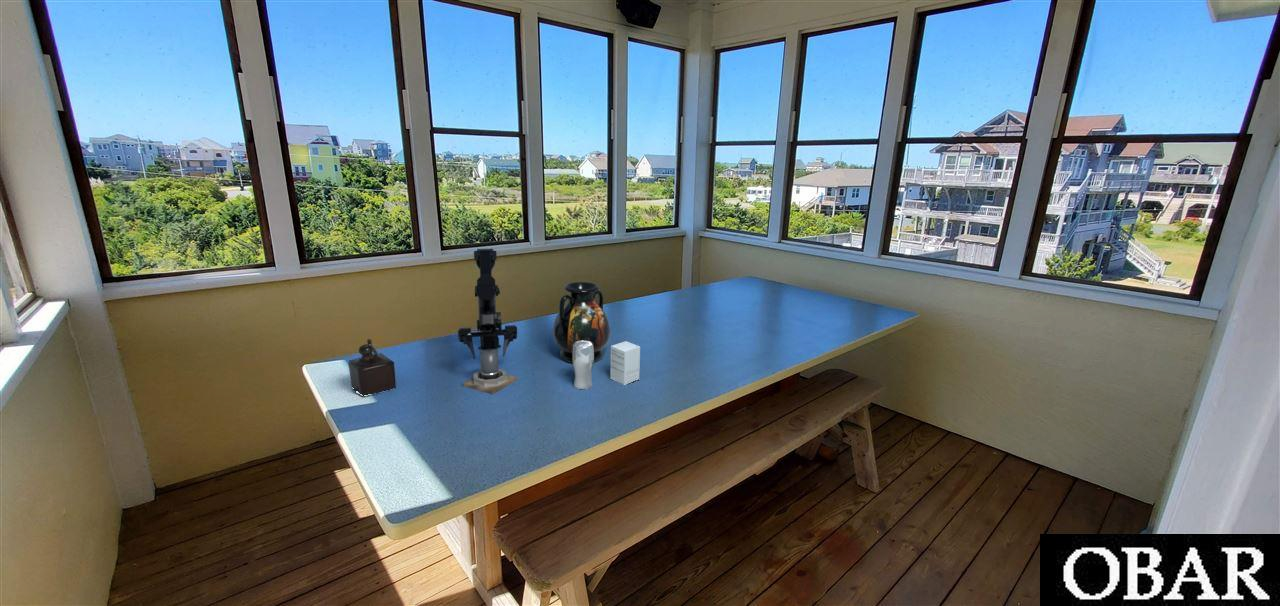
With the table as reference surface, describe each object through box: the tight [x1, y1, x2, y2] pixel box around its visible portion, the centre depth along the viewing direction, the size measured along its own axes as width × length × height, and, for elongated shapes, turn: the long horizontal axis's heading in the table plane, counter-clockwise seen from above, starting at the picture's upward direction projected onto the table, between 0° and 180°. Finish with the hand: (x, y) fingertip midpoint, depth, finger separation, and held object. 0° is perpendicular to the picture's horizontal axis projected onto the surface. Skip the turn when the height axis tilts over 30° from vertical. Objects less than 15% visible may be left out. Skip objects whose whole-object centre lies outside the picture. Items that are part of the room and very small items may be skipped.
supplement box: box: [609, 340, 641, 386], centre depth 175 cm, size 7×7×13 cm
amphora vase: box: [552, 281, 611, 364], centre depth 192 cm, size 22×22×28 cm
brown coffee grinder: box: [348, 338, 397, 396], centre depth 160 cm, size 16×11×18 cm
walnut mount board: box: [462, 368, 518, 395], centre depth 170 cm, size 12×12×3 cm
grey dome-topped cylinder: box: [479, 349, 500, 380], centre depth 169 cm, size 6×6×10 cm
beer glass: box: [572, 340, 594, 390], centre depth 169 cm, size 7×7×15 cm
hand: (489, 357), depth 167 cm, fingers open, 9 cm apart
